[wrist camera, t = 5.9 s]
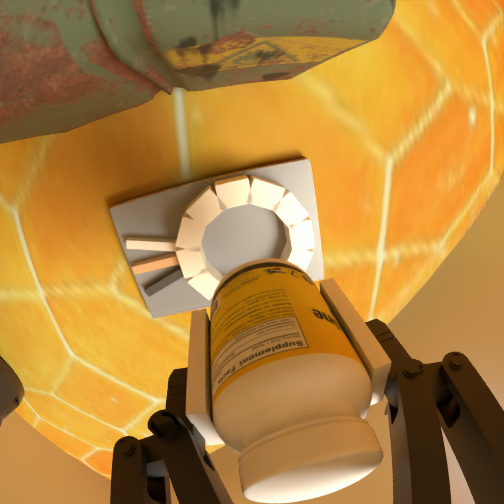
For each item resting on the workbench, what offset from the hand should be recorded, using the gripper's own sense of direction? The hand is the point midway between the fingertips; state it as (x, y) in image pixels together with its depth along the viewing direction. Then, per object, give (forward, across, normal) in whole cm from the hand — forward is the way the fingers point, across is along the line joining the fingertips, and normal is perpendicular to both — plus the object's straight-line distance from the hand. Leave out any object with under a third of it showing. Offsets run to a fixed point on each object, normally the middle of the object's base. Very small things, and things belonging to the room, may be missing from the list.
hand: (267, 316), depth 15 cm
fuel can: (+13, -2, +30) cm, 33 cm away
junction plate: (+12, -2, 0) cm, 13 cm away
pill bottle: (+2, 0, 0) cm, 2 cm away
